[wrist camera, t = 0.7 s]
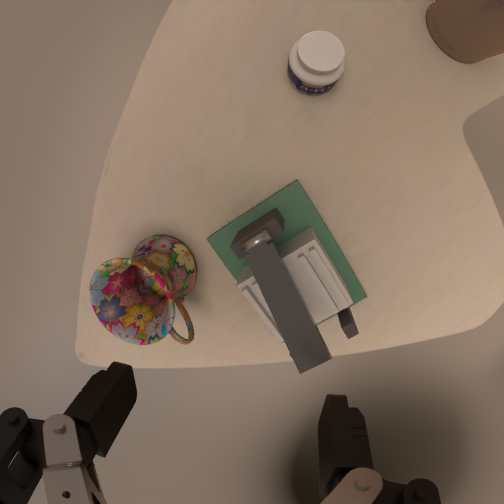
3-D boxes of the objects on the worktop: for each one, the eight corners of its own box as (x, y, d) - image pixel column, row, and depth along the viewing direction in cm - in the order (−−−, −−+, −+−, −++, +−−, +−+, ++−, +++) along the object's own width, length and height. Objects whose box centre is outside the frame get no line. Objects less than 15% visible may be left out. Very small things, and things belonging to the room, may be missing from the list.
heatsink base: (297, 179, 34) (301, 187, 26) (365, 293, 37) (382, 326, 30) (208, 236, 37) (189, 259, 29) (282, 338, 40) (281, 377, 33)
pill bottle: (297, 102, 31) (301, 86, 23) (280, 60, 30) (279, 32, 22) (343, 89, 30) (361, 70, 22) (325, 47, 29) (337, 18, 20)
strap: (268, 230, 29) (264, 227, 28) (332, 357, 24) (330, 359, 23) (243, 246, 30) (238, 244, 29) (302, 372, 25) (299, 373, 24)
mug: (119, 263, 39) (75, 298, 29) (161, 214, 37) (119, 238, 27) (185, 326, 41) (158, 376, 31) (233, 284, 38) (215, 330, 28)
